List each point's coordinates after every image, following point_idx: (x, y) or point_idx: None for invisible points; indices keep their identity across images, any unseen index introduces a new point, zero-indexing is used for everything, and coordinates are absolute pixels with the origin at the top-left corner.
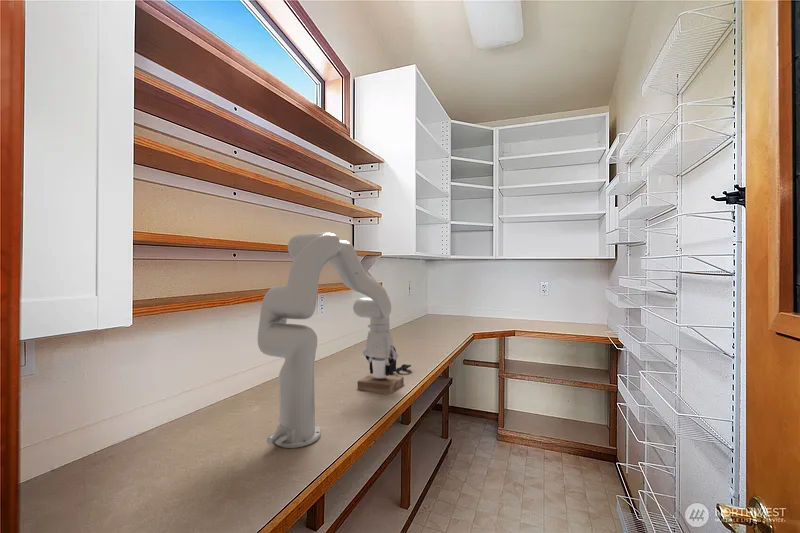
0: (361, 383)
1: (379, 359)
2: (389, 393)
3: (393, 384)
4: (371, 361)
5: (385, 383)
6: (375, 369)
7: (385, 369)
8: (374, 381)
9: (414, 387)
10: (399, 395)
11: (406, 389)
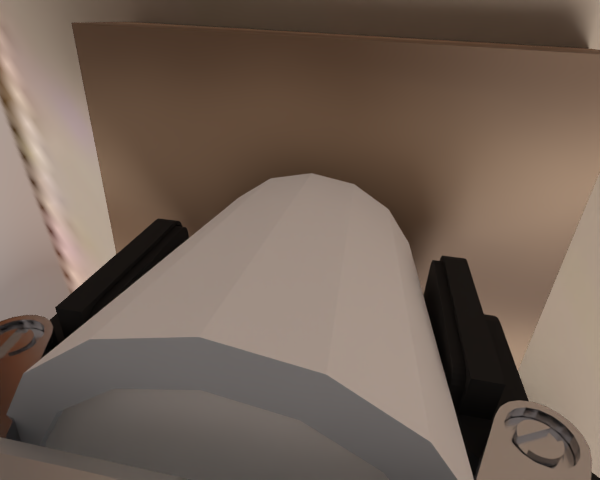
0: (549, 49)
1: (200, 465)
2: (127, 22)
3: (99, 138)
4: (482, 446)
5: (180, 116)
6: (315, 228)
7: (139, 269)
8: (356, 147)
9: (63, 271)
10: (37, 38)
11: (85, 213)
